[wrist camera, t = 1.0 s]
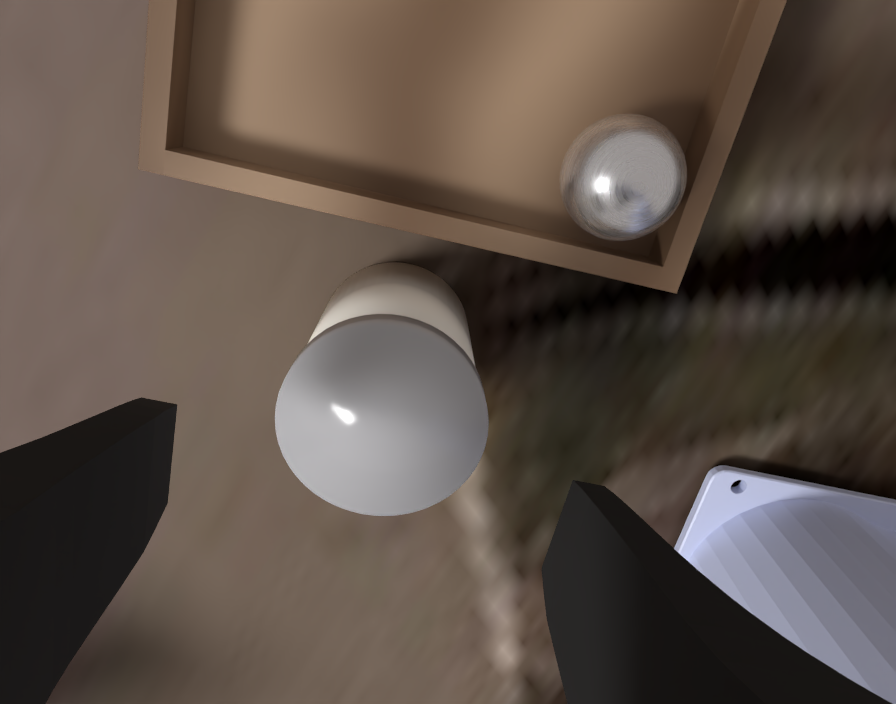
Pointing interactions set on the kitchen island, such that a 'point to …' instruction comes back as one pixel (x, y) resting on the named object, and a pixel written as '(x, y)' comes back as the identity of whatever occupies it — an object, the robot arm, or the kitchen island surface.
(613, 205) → the steel ball
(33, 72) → the kitchen island surface
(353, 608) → the kitchen island surface
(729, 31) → the tray
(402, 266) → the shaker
